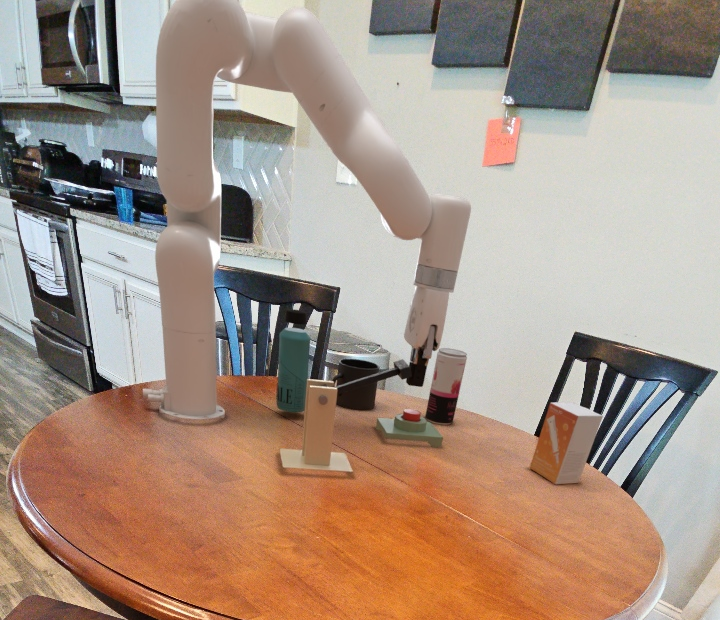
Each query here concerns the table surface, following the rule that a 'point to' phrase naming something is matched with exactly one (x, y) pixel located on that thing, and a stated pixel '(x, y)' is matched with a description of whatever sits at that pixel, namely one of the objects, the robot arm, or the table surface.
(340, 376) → the mug
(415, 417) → the button
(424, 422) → the control block
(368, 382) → the lever
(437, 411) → the beverage can
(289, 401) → the beverage bottle
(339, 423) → the table surface
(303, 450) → the bracket
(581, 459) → the small box
